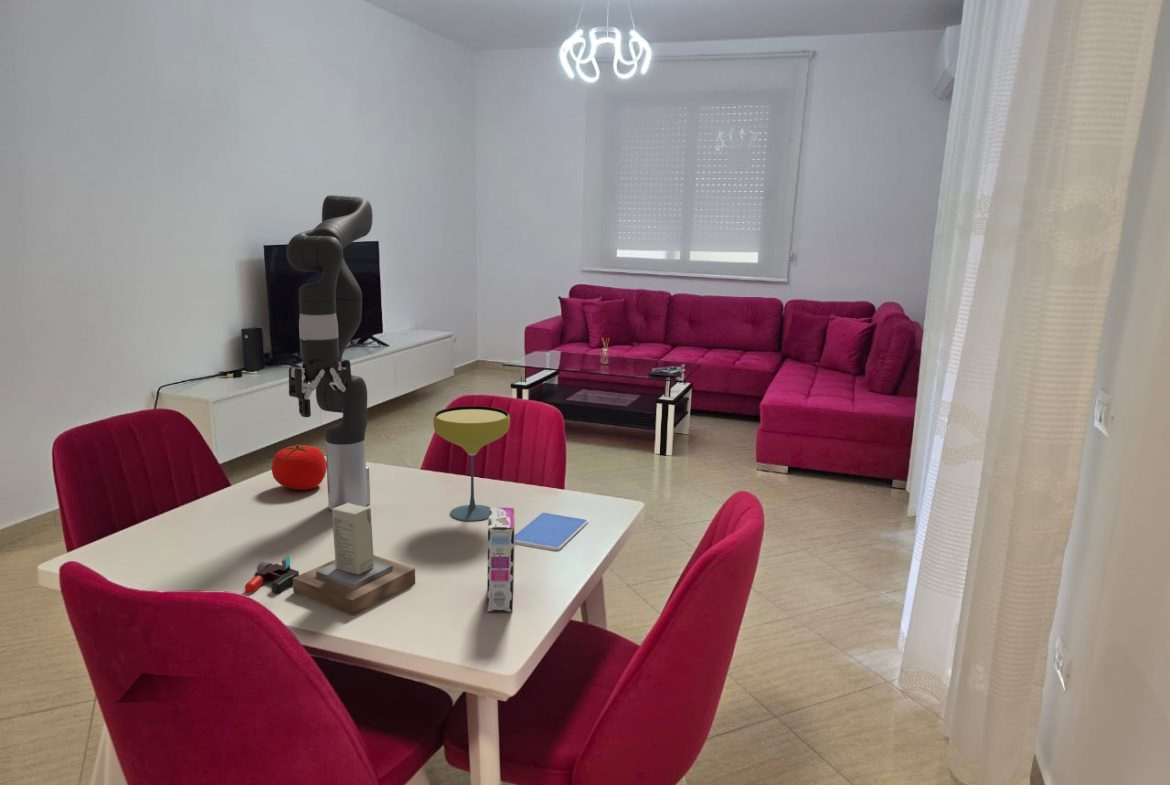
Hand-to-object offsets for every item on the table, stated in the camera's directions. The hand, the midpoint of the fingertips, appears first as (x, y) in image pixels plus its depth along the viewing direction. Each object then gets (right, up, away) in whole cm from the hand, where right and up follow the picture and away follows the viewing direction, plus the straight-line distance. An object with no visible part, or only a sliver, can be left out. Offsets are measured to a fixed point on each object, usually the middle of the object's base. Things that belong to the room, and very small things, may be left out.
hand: (322, 412), depth 162 cm
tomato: (-21, -21, +44) cm, 53 cm away
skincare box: (+10, -30, -12) cm, 34 cm away
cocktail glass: (+27, -26, +29) cm, 47 cm away
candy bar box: (+39, -35, -15) cm, 54 cm away
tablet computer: (+47, -29, +19) cm, 58 cm away
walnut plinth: (+10, -34, -12) cm, 37 cm away
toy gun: (-8, -33, -10) cm, 36 cm away
